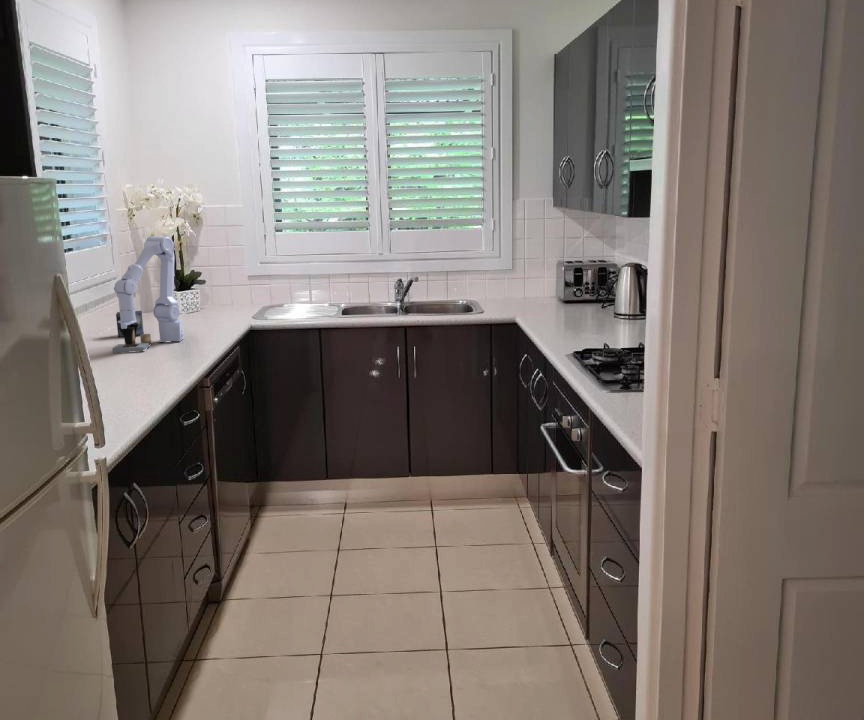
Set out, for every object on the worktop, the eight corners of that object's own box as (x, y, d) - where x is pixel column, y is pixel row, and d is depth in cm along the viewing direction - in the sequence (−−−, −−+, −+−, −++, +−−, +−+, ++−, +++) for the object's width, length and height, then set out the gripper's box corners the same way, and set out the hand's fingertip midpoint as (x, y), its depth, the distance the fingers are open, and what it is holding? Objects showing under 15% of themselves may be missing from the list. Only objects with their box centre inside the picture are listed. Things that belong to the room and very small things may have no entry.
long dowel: (137, 348, 331) (135, 328, 330) (134, 350, 328) (132, 330, 326) (127, 348, 331) (125, 329, 329) (124, 350, 327) (122, 330, 326)
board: (149, 347, 334) (148, 343, 333) (144, 352, 326) (143, 347, 326) (119, 348, 333) (118, 344, 332) (113, 353, 325) (112, 348, 325)
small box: (117, 337, 357) (115, 314, 355) (119, 335, 363) (116, 311, 361) (143, 336, 360) (140, 312, 357) (144, 333, 366) (141, 310, 363)
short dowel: (152, 344, 341) (151, 333, 340) (150, 346, 337) (149, 335, 336) (142, 344, 341) (141, 334, 340) (140, 346, 337) (139, 336, 336)
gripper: (122, 307, 333) (125, 339, 336) (111, 313, 318) (115, 347, 321) (139, 306, 333) (143, 339, 336) (130, 312, 319) (133, 346, 322)
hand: (130, 343), depth 329 cm, fingers closed on long dowel, 4 cm apart
